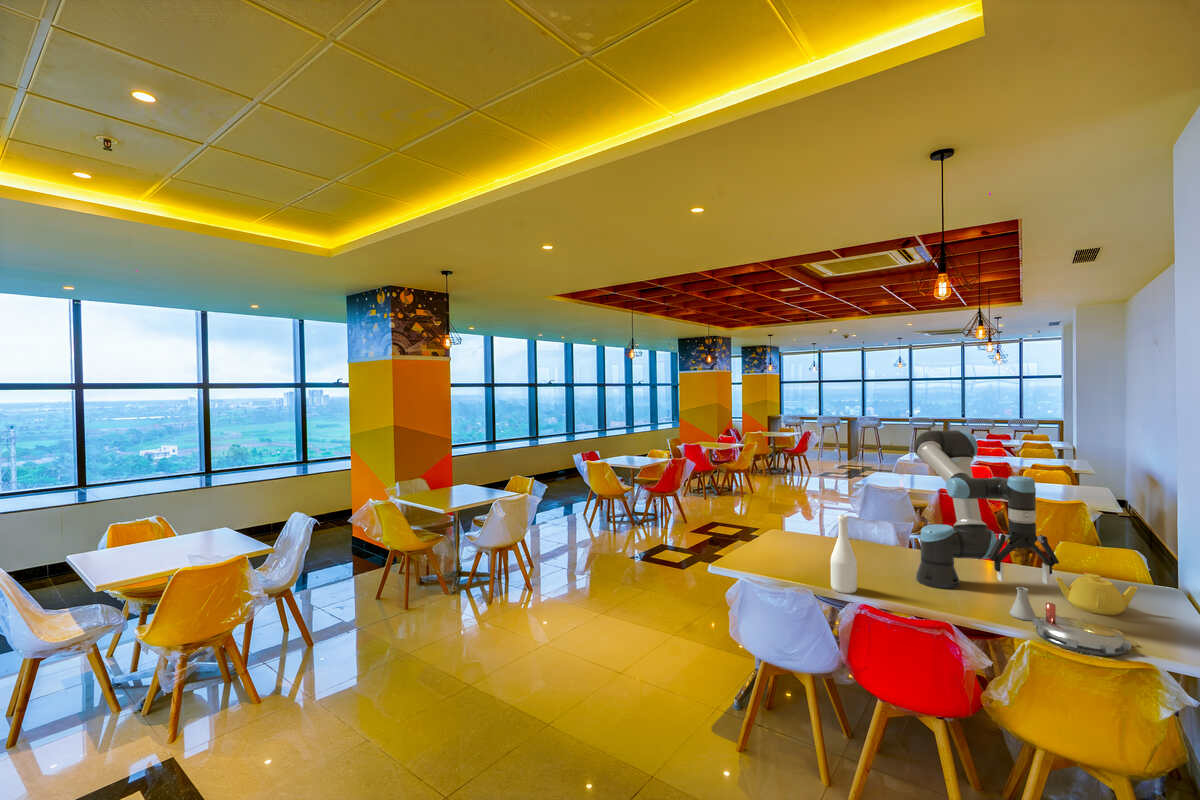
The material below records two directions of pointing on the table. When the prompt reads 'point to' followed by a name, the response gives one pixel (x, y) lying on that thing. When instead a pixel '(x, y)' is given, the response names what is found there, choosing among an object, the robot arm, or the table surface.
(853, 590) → the wine bottle
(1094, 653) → the base
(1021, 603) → the flask
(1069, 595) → the teapot
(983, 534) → the robot arm
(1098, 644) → the turntable
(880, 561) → the table surface
